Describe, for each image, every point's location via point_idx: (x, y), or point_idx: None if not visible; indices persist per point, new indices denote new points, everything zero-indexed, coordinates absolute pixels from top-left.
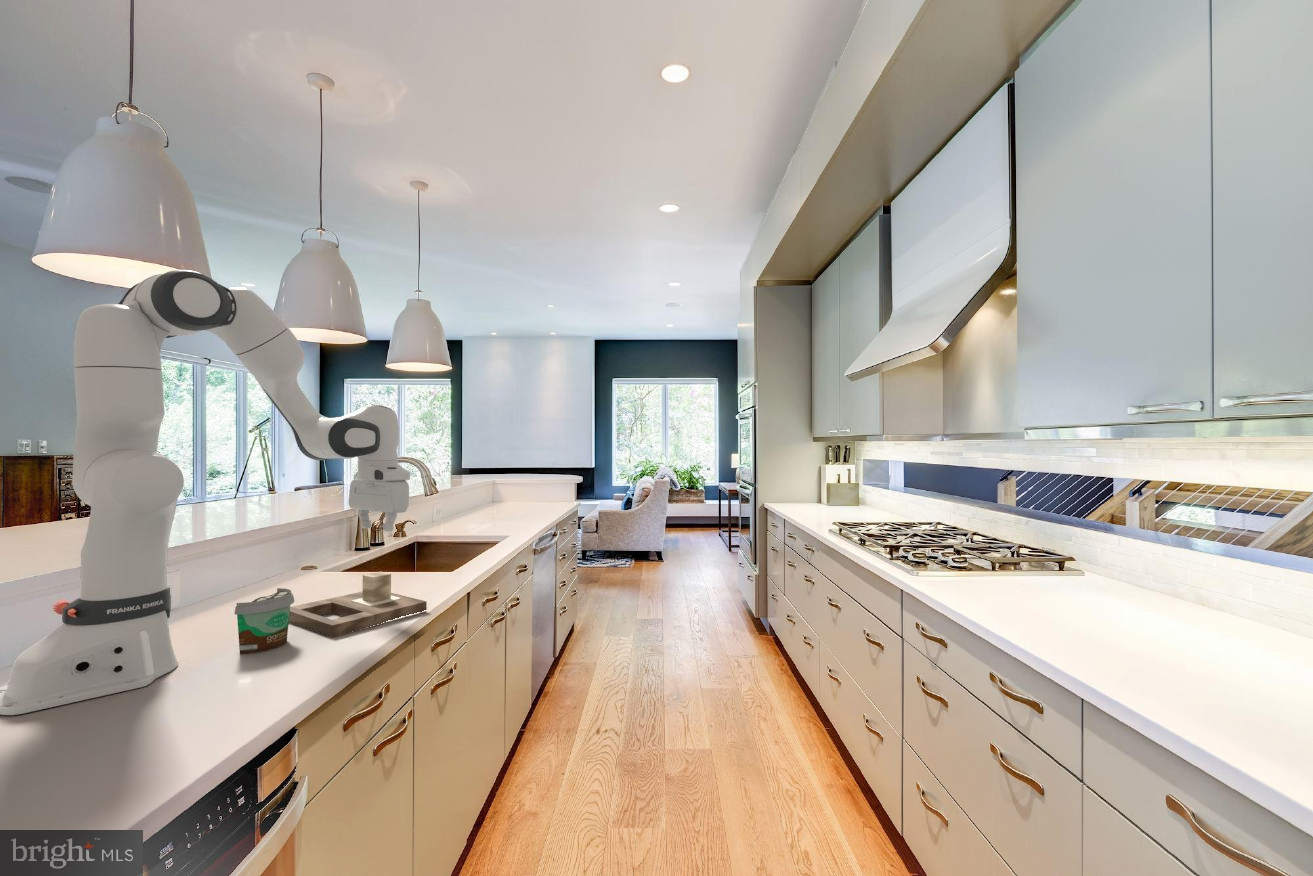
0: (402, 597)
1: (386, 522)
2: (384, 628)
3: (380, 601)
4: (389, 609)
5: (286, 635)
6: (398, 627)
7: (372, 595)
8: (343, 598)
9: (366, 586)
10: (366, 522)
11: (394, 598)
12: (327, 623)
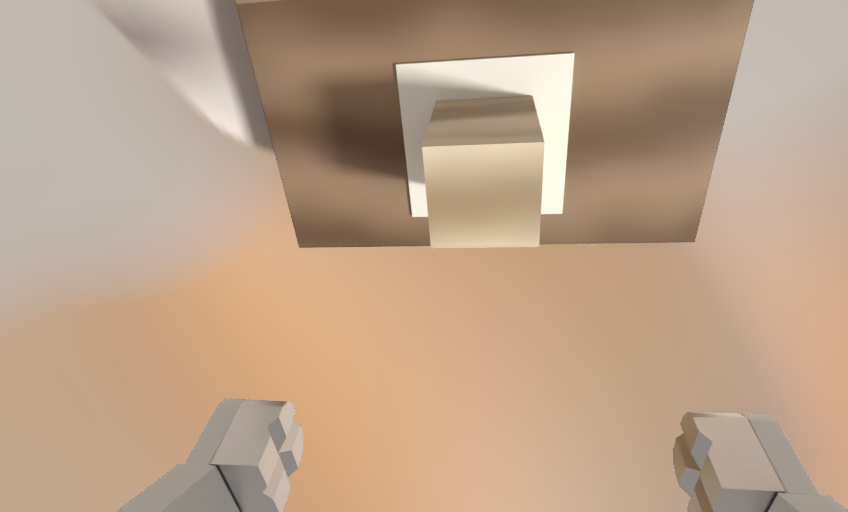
0: None
1: (165, 482)
2: (198, 12)
3: None
4: (279, 96)
5: None
6: (178, 57)
7: (437, 111)
8: (672, 54)
9: (495, 121)
10: (708, 490)
11: None
12: None
